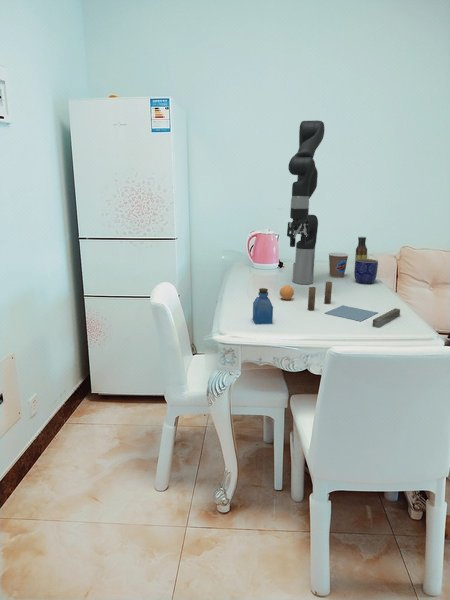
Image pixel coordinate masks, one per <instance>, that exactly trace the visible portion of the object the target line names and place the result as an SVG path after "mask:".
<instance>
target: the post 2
mask: <svg viewBox="0 0 450 600" xmlns="http://www.w3.org/2000/svg"><path fill="white" fill-rule="evenodd" d="M324 288H325V289H324V301H323V303H324V304H326V305H331V303H332V302H331V301H332V290H333V281H325V287H324Z"/></svg>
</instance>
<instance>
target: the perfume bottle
mask: <svg viewBox="0 0 450 600" xmlns="http://www.w3.org/2000/svg"><path fill="white" fill-rule="evenodd" d="M258 290H259V291H258V296H257V297H256V298H255V299H254V301H253V302H252V303H253V304H252V321H253V322H254V325H273V319H274V317H273V316H274V315H273V312H274V307H273V304H272V302H271V300H270V298H269V297H268V296H269V292H268V291H269V290H268V288H264V287H263V288H258Z"/></svg>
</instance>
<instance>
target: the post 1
mask: <svg viewBox="0 0 450 600" xmlns="http://www.w3.org/2000/svg"><path fill="white" fill-rule="evenodd" d="M316 290H317V288H316V287H315V286H309V287H308V299H307V311H315V306H316V305H315V304H316Z"/></svg>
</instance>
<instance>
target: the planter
mask: <svg viewBox="0 0 450 600" xmlns="http://www.w3.org/2000/svg"><path fill="white" fill-rule="evenodd" d="M378 267H379V261H378V260H377V259H373V258H371V259H370V258H367V259H356V260H355V259H354V270H353V271H354V272H353V274H354V276H353V277H354V279H355V281H356V283H359V284H362V285H370V284H373V283H374V282H375V281H376V279H377V275H378Z"/></svg>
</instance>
